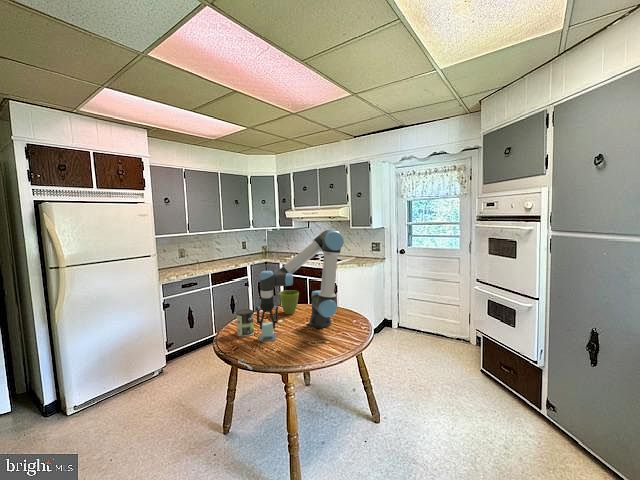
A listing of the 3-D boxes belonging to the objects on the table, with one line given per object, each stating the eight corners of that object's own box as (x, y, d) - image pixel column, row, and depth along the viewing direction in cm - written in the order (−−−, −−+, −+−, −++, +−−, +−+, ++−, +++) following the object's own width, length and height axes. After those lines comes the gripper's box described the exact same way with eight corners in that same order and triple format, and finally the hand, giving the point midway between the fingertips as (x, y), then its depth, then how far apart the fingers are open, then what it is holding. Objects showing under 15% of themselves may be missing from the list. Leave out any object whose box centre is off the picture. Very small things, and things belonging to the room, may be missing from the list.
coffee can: (256, 330, 193) (255, 309, 192) (249, 337, 183) (248, 314, 182) (241, 329, 195) (241, 308, 194) (234, 336, 185) (233, 313, 184)
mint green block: (272, 332, 184) (272, 322, 184) (271, 336, 179) (271, 325, 179) (264, 333, 184) (263, 322, 184) (262, 336, 179) (262, 325, 178)
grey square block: (277, 334, 187) (276, 322, 186) (275, 340, 177) (275, 328, 176) (260, 334, 187) (260, 322, 186) (258, 341, 177) (258, 328, 176)
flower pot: (275, 313, 227) (275, 292, 226) (289, 308, 239) (289, 289, 237) (289, 317, 218) (288, 296, 216) (303, 312, 229) (303, 292, 228)
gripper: (282, 294, 184) (283, 331, 186) (252, 295, 183) (253, 332, 185) (281, 298, 177) (282, 336, 178) (250, 298, 176) (251, 336, 178)
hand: (267, 334), depth 182 cm, fingers closed on mint green block, 5 cm apart
